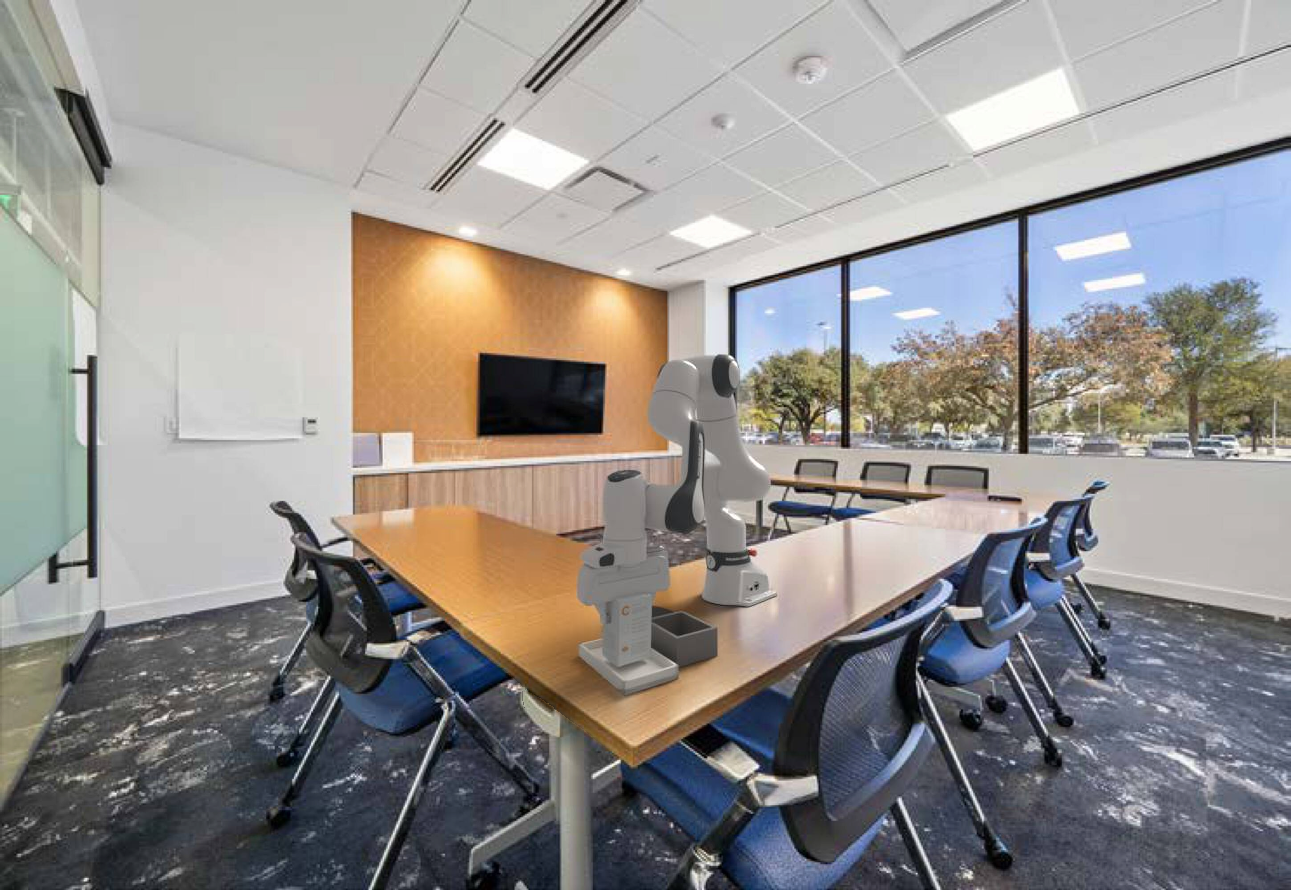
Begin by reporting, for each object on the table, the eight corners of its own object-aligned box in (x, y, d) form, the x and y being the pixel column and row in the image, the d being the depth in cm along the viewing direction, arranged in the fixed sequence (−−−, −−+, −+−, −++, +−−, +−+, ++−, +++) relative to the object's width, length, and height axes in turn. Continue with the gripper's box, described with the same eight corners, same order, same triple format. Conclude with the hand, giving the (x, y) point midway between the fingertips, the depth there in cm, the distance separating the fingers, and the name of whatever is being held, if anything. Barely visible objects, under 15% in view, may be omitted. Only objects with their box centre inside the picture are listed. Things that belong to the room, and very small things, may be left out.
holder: (682, 636, 119) (682, 610, 119) (717, 655, 108) (717, 627, 108) (644, 646, 114) (643, 619, 113) (677, 668, 103) (676, 638, 103)
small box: (633, 646, 109) (635, 585, 108) (651, 657, 103) (653, 594, 103) (600, 655, 104) (602, 592, 103) (617, 668, 99) (619, 601, 98)
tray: (627, 643, 116) (627, 632, 115) (678, 678, 99) (678, 665, 98) (578, 655, 109) (578, 644, 109) (624, 695, 92) (624, 682, 92)
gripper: (659, 541, 112) (660, 604, 112) (573, 554, 101) (574, 624, 101) (675, 547, 106) (676, 612, 107) (586, 561, 95) (587, 634, 96)
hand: (626, 618), depth 104 cm, fingers closed on small box, 8 cm apart
